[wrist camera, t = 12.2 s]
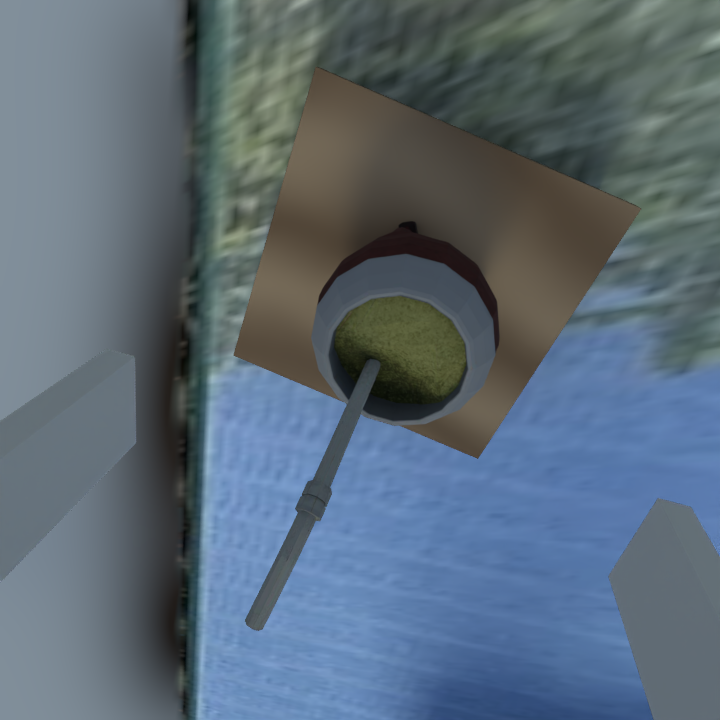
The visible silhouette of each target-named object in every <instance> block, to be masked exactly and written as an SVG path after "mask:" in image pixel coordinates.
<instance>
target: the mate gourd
mask: <svg viewBox="0 0 720 720" xmlns="http://www.w3.org/2000/svg"><path fill="white" fill-rule="evenodd" d="M398 226H399V228H397V229H396V230H394V231H393V232H391V233H389V234H386V235H384V236H381V237H378V238H377V239H375V240H374V241H372V242H370V243H369V244H367V245H366V246H364V247H362V248H361V249H359V250H357V251H356V252H354V253H353V254H351V255H349V256H348V257H346V258H345V259H344V260H342V261H341V263H340V264H339V266H338V267H337V268H336V270H335V271H334V273H333V274H332V276H331V277H330V278H329V280H328V281H327V283H326V284H325V285H324V287H323V288H322V290H321V292H320V295H319V298H318V304H317V308H316V314H315V319H314V325H313V330H312V336H311V340H312V344H313V348H314V352H315V356H316V361H317V365H318V369H319V371H320V373H321V374H322V376H323V377H324V378H325V380H326V381H327V383H328V384H329V385H330V387H331V388H332V390H333V391H334V393H335V394H336V395H337V397H338V398H339V399H340V400H342V401H343V402H345V403H346V404H347V406H346V408H345V410H344V412H343V415H342V417H341V419H340V421H339V423H338V426H337V428H336V430H335V432H334V435H333V437H332V439H331V441H330V443H329V446H328V448H327V450H326V452H325V454H324V457H323V459H322V461H321V463H320V465H319V468H318V470H317V472H316V474H315V477H314V479H313V480H312V481H308V482H307V484H306V486H305V489H304V491H303V493H302V496H301V497H300V499H299V501H298V503H297V506H296V508H295V509H296V511H297V512H298V514H297V516H296V518H295V520H294V522H293V525H292V527H291V529H290V531H289V533H288V535H287V537H286V539H285V541H284V543H283V545H282V547H281V549H280V551H279V553H278V555H277V557H276V559H275V561H274V563H273V565H272V567H271V569H270V571H269V573H268V575H267V577H266V579H265V581H264V583H263V585H262V587H261V589H260V591H259V593H258V595H257V597H256V599H255V601H254V603H253V605H252V607H251V609H250V611H249V613H248V615H247V617H246V619H245V622H246V625H247V626H249V627H250V628H252V629H254V630H257V631H259V630H262V629H263V627H264V625H265V623H266V622H267V620H268V618H269V616H270V614H271V612H272V610H273V608H274V606H275V604H276V602H277V600H278V598H279V596H280V594H281V592H282V590H283V588H284V586H285V584H286V582H287V580H288V578H289V576H290V574H291V572H292V570H293V568H294V566H295V564H296V562H297V560H298V557H299V555H300V553H301V551H302V549H303V547H304V545H305V543H306V541H307V539H308V536H309V534H310V532H311V530H312V528H313V526H314V523H315V521H321V518H322V516H323V514H324V512H325V507H327V504H328V502H329V499H330V497H331V495H332V491H331V488H330V487H331V484H332V482H333V479H334V477H335V474H336V472H337V470H338V467H339V465H340V462H341V460H342V457H343V455H344V453H345V450H346V448H347V445H348V443H349V441H350V438H351V436H352V433H353V431H354V429H355V426H356V424H357V421H358V419H359V417H360V414H362V415H363V416H364V417H367V418H370V419H373V420H377V421H380V422H384V423H387V424H390V425H394V426H399V425H417V424H427V423H429V422H432V421H434V420H436V419H439V418H441V417H443V416H446V415H448V414H451V413H453V412H455V411H458V410H460V409H461V408H462V407H463V406H464V405H465V404H466V403H467V402H468V401H469V400H470V399H471V398H472V397H473V396H474V395H475V394H476V393H477V392H478V391H479V390H480V389H481V388H482V387H483V386H484V383H485V381H486V378H487V375H488V373H489V370H490V368H491V365H492V363H493V360H494V357H495V355H496V354H495V353H496V351H497V348H498V346H499V338H500V334H499V320H498V306H497V300H496V298H495V296H494V294H493V292H492V290H491V288H490V287H489V285H488V283H487V281H486V279H485V277H484V276H483V274H482V272H481V270H480V268H479V267H478V265H477V264H476V263H475V262H474V261H472V260H471V259H470V258H468V257H467V256H466V255H464V254H463V253H462V252H461V251H459V250H458V249H457V248H455V247H454V246H453V245H451V244H450V243H449V242H445V241H442V240H438V239H434V238H431V237H427V236H424V235H421V234H418V230H417V225H416V222H414V221H408V222H402V223H401V224H399V225H398Z"/></svg>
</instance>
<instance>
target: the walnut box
mask: <svg viewBox="0 0 720 720" xmlns="http://www.w3.org/2000/svg"><path fill="white" fill-rule="evenodd" d="M640 210H641V208H639V207H638V206H636V205H634V204H632V203H629V202H627V201H625V200H623V199H620V198H618V197H616V196H613V195H611V194H609V193H607V192H604V191H602V190H600V189H597V188H595V187H593V186H590V185H588V184H586V183H584V182H581V181H579V180H577V179H574V178H572V177H570V176H568V175H565V174H563V173H561V172H558V171H556V170H554V169H551V168H549V167H547V166H545V165H542V164H540V163H538V162H535V161H533V160H531V159H528V158H526V157H524V156H522V155H519V154H517V153H515V152H512V151H510V150H508V149H506V148H503V147H501V146H499V145H496V144H494V143H492V142H489V141H487V140H485V139H483V138H480V137H478V136H476V135H473V134H471V133H469V132H467V131H464V130H462V129H460V128H457V127H455V126H453V125H450V124H448V123H446V122H444V121H441V120H439V119H437V118H434V117H432V116H430V115H427V114H425V113H423V112H421V111H418V110H416V109H414V108H411V107H409V106H407V105H405V104H402V103H400V102H398V101H395V100H393V99H391V98H388V97H386V96H384V95H382V94H379V93H377V92H375V91H372V90H370V89H368V88H366V87H363V86H361V85H359V84H356V83H354V82H352V81H349V80H347V79H345V78H343V77H340V76H338V75H336V74H333V73H331V72H329V71H327V70H324V69H322V68H319V67H316V68H315V71H314V75H313V78H312V82H311V85H310V89H309V92H308V96H307V99H306V103H305V106H304V110H303V113H302V117H301V120H300V124H299V127H298V131H297V134H296V138H295V141H294V145H293V148H292V152H291V156H290V159H289V163H288V166H287V170H286V173H285V177H284V180H283V184H282V187H281V191H280V194H279V198H278V201H277V205H276V208H275V212H274V215H273V219H272V222H271V226H270V229H269V233H268V236H267V240H266V243H265V247H264V250H263V254H262V257H261V261H260V264H259V268H258V271H257V275H256V278H255V282H254V285H253V289H252V292H251V296H250V299H249V303H248V306H247V310H246V313H245V317H244V320H243V324H242V327H241V331H240V334H239V338H238V341H237V345H236V348H235V352H234V356H236V357H238V358H241V359H243V360H246V361H248V362H250V363H253V364H255V365H257V366H260V367H262V368H264V369H267V370H269V371H272V372H274V373H276V374H279V375H281V376H283V377H286V378H288V379H290V380H293V381H295V382H298V383H300V384H302V385H305V386H307V387H309V388H312V389H314V390H316V391H319V392H321V393H324V394H326V395H328V396H331V397H333V398H335V399H338V400H340V399H339V398H338V397H337V395H336V394H335V393H334V391H333V390H332V388H331V387H330V385H329V384H328V383H327V381H326V380H325V378H324V377H323V376H322V374H321V373H320V371H319V369H318V365H317V361H316V356H315V352H314V348H313V344H312V340H311V336H312V330H313V325H314V319H315V314H316V308H317V304H318V298H319V295H320V292H321V290H322V288H323V287H324V285H325V284H326V283H327V281H328V280H329V278H330V277H331V276H332V274H333V273H334V271H335V270H336V268H337V267H338V266H339V264H340V263H341V261H342V260H344V259H345V258H346V257H348V256H349V255H351V254H353V253H354V252H356V251H357V250H359V249H361V248H362V247H364V246H366V245H367V244H369V243H370V242H372V241H374V240H375V239H377V238H378V237H381V236H384V235H386V234H389V233H391V232H393V231H394V230H396V229H397V228H399V226H398V225H399V224H401V223H402V222H408V221H414V222H416V225H417V230H418V234H421V235H424V236H427V237H431V238H434V239H438V240H442V241H445V242H449V243H450V244H451V245H453V246H454V247H455V248H457V249H458V250H459V251H461V252H462V253H463V254H464V255H466V256H467V257H468V258H470V259H471V260H472V261H474V262H475V263H476V264H477V265H478V267H479V268H480V270H481V272H482V274H483V276H484V277H485V279H486V281H487V283H488V285H489V287H490V288H491V290H492V292H493V294H494V296H495V298H496V300H497V306H498V320H499V334H500V338H499V346H498V348H497V351H496V353H495V354H496V355H495V357H494V360H493V363H492V365H491V368H490V370H489V373H488V375H487V378H486V381H485V383H484V386H483V387H482V388H481V389H480V390H479V391H478V392H477V393H476V394H475V395H474V396H473V397H472V398H471V399H470V400H469V401H468V402H467V403H466V404H465V405H464V406H463V407H462V408H461V409H460V410H458V411H455V412H453V413H451V414H448V415H446V416H443V417H441V418H439V419H436V420H434V421H432V422H429V423H427V424H417V425H399V426H402V427H404V428H406V429H409V430H411V431H413V432H416V433H418V434H421V435H423V436H425V437H428V438H430V439H432V440H435V441H437V442H439V443H442V444H444V445H447V446H449V447H451V448H454V449H456V450H458V451H461V452H463V453H465V454H468V455H470V456H473V457H475V458H477V459H478V458H479V456H480V455H481V453H482V452H483V450H484V449H485V447H486V446H487V444H488V443H489V441H490V439H491V438H492V436H493V435H494V433H495V432H496V430H497V429H498V427H499V426H500V424H501V423H502V421H503V420H504V418H505V417H506V415H507V413H508V412H509V410H510V409H511V407H512V406H513V404H514V403H515V401H516V400H517V398H518V397H519V395H520V394H521V392H522V391H523V389H524V387H525V386H526V384H527V383H528V381H529V380H530V378H531V377H532V375H533V374H534V372H535V371H536V369H537V368H538V366H539V365H540V363H541V361H542V360H543V358H544V357H545V355H546V354H547V352H548V351H549V349H550V348H551V346H552V345H553V343H554V342H555V340H556V338H557V337H558V335H559V334H560V332H561V331H562V329H563V328H564V326H565V325H566V323H567V322H568V320H569V319H570V317H571V316H572V314H573V312H574V311H575V309H576V308H577V306H578V305H579V303H580V302H581V300H582V299H583V297H584V296H585V294H586V293H587V291H588V290H589V288H590V286H591V285H592V283H593V282H594V280H595V279H596V277H597V276H598V274H599V273H600V271H601V270H602V268H603V267H604V265H605V264H606V262H607V260H608V259H609V257H610V256H611V254H612V253H613V251H614V250H615V248H616V247H617V245H618V244H619V242H620V241H621V239H622V237H623V236H624V234H625V233H626V231H627V230H628V228H629V227H630V225H631V224H632V222H633V221H634V219H635V218H636V216H637V215H638V213H639V211H640ZM340 401H342V400H340ZM342 402H343V401H342Z"/></svg>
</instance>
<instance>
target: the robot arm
mask: <svg viewBox="0 0 720 720" xmlns="http://www.w3.org/2000/svg"><path fill="white" fill-rule="evenodd" d="M135 406H136V405H135V357H134V356H131V355H127V354H123V353H120V352H116V351H112V350H109V349H106V350H104V351H103V352H101V353H100V354H98V355H97V356H95V357H94V358H92V359H91V360H89V361H88V362H86V363H85V364H84V365H82V366H81V367H79V368H78V369H76V370H75V371H73V372H72V373H70V374H69V375H67V376H66V377H64V378H63V379H61V380H60V381H59V382H57V383H56V384H54V385H53V386H51V387H50V388H48V389H47V390H45V391H44V392H42V393H41V394H39V395H38V396H37V397H35V398H34V399H32V400H30V401H29V402H28V403H26V404H25V405H23V406H22V407H20V408H19V409H17V410H16V411H14V412H13V413H12V414H10V415H9V416H7V417H6V418H4V419H3V420H1V421H0V582H1V581H2V580H3V579H4V578H5V577H6V576H7V575H8V574H9V573H10V572H11V571H12V570H13V569H14V568H15V567H16V565H18V564H19V563H20V562H21V561H22V560H23V558H24V557H26V555H27V554H28V553H29V552H30V551H31V550H32V549H33V548H34V547H35V546H36V545H37V544H38V543H39V542H40V541H41V540H42V539H43V538H44V537H45V536H46V535H47V534H48V533H49V532H50V531H51V530H52V529H53V528H54V527H55V526H56V525H57V524H58V523H59V522H60V520H61V519H62V518H63V517H64V516H65V515H66V514H67V513H68V512H69V511H70V510H71V509H72V508H73V507H74V506H75V505H76V504H77V503H78V502H79V501H80V500H81V499H82V498H83V497H84V496H85V495H86V493H88V492H89V491H90V490H91V489H92V488H93V487H94V485H95V484H96V483H97V482H98V481H99V480H100V479H101V478H102V477H103V476H104V475H105V474H106V473H107V472H108V471H109V470H110V469H111V468H112V467H113V466H114V465H115V464H116V463H117V462H118V461H119V460H120V459H121V458H122V457H123V456H124V454H126V453H127V451H128V450H129V449H130V448H131V447H132V446H133V445H134V444H135V443H136V407H135ZM608 577H609V580H610V583H611V586H612V589H613V592H614V596H615V599H616V602H617V605H618V608H619V611H620V615H621V618H622V621H623V624H624V627H625V630H626V634H627V637H628V640H629V643H630V646H631V649H632V653H633V656H634V659H635V662H636V665H637V669H638V672H639V675H640V678H641V681H642V684H643V688H644V691H645V694H646V697H647V700H648V703H649V707H650V710H651V713H652V716H653V719H654V720H720V556H719V555H718V553H717V551H716V550H715V548H714V546H713V544H712V543H711V541H710V539H709V537H708V536H707V534H706V532H705V530H704V529H703V527H702V525H701V524H700V522H699V520H698V518H697V517H696V515H695V513H694V511H693V510H692V508H691V507H689V506H686V505H682V504H678V503H674V502H671V501H667V500H663V499H660V498H658V499H657V500H656V502H655V504H654V505H653V507H652V508H651V510H650V511H649V513H648V515H647V516H646V518H645V519H644V521H643V522H642V524H641V526H640V527H639V529H638V530H637V532H636V533H635V535H634V537H633V538H632V540H631V541H630V543H629V544H628V546H627V548H626V549H625V551H624V552H623V554H622V555H621V557H620V559H619V560H618V562H617V563H616V565H615V566H614V568H613V570H612V571H611V573H610V574H609V576H608Z"/></svg>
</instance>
